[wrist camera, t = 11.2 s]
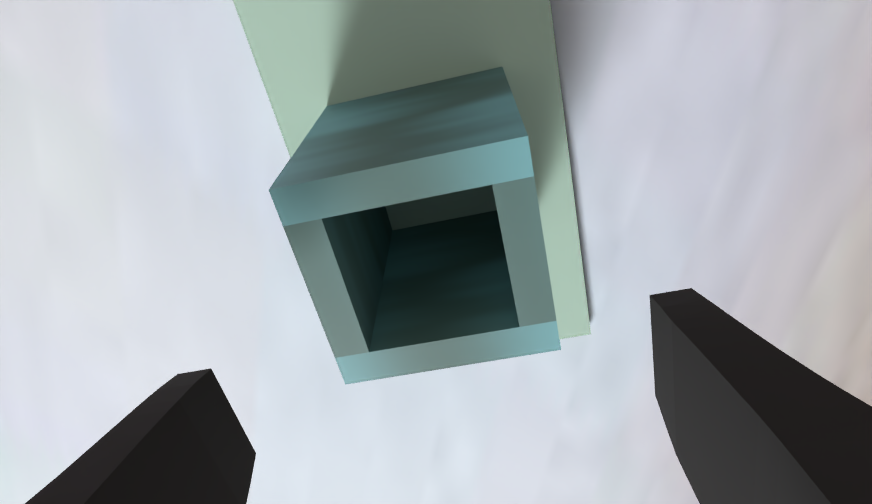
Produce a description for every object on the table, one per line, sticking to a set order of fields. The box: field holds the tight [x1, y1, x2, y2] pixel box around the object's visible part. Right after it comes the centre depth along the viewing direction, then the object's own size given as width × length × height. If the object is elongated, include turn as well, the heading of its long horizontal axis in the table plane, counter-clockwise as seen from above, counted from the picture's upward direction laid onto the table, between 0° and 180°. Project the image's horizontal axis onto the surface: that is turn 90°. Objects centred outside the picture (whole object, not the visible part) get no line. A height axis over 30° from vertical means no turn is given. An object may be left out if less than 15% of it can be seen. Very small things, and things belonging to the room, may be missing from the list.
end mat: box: [233, 0, 591, 339], centre depth 17 cm, size 8×14×1 cm, turn 13°
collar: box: [269, 67, 561, 384], centre depth 15 cm, size 5×5×6 cm
